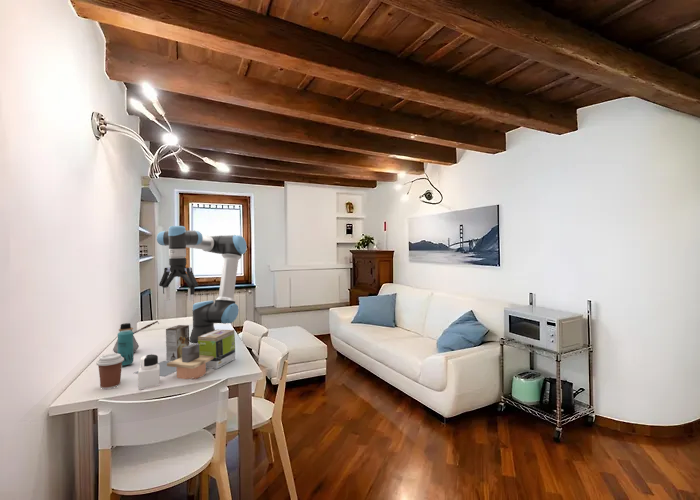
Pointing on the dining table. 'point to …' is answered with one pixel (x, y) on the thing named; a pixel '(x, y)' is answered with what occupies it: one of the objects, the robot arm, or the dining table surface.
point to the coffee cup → (110, 370)
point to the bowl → (191, 372)
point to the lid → (190, 358)
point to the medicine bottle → (148, 372)
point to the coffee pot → (133, 338)
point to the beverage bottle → (125, 344)
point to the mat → (165, 369)
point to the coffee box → (176, 341)
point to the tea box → (218, 347)
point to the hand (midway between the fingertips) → (179, 301)
